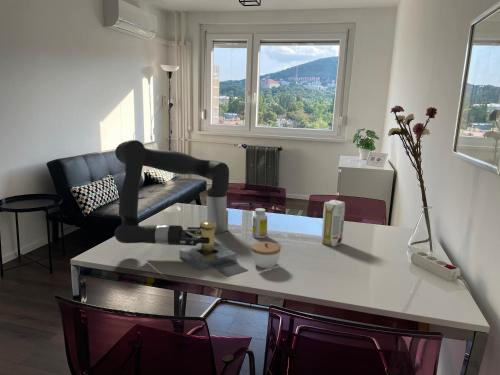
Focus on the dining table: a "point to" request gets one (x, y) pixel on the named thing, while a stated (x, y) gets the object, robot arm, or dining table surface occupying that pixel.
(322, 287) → the dining table surface
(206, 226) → the brass plug
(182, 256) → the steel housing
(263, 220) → the supplement bottle
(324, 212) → the juice carton
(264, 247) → the lidded jar
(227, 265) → the rubber mat
